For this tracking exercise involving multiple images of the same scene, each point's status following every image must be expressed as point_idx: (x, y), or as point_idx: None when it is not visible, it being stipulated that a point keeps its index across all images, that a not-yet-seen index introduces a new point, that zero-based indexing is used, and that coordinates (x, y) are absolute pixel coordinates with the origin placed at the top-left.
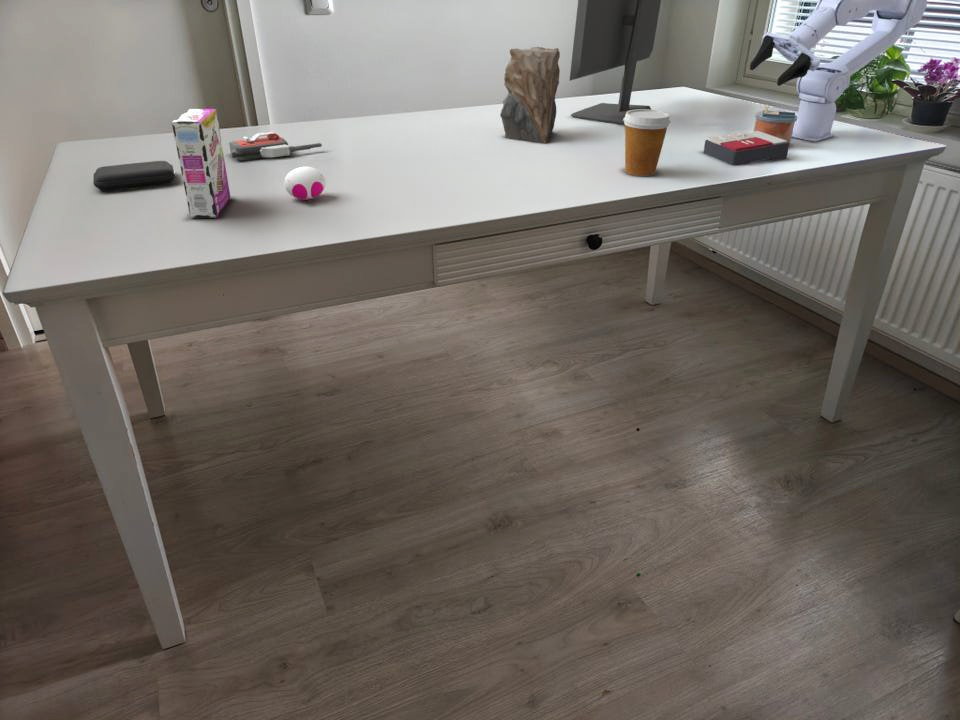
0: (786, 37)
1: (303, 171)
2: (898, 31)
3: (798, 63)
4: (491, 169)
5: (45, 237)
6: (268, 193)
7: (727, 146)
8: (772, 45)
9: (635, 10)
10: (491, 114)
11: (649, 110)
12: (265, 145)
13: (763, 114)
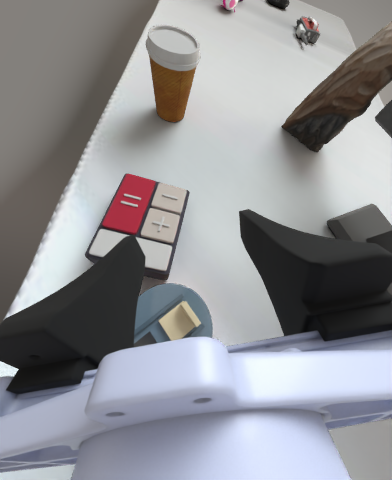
0: (278, 367)
1: None
2: None
3: (70, 289)
4: (233, 67)
5: None
6: (242, 8)
7: (144, 178)
8: (300, 301)
9: None
10: (386, 160)
11: (189, 53)
12: (303, 24)
13: (180, 294)
